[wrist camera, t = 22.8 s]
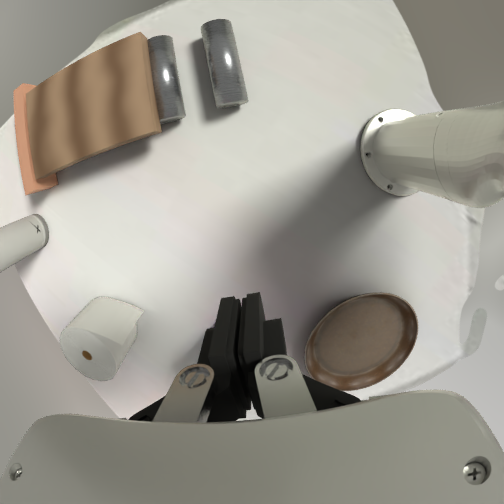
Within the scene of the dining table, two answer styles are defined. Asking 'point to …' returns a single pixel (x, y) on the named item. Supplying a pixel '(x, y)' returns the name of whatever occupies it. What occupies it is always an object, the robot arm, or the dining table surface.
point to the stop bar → (27, 145)
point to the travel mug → (22, 239)
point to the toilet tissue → (100, 337)
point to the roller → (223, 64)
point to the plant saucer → (361, 341)
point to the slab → (92, 106)
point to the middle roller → (165, 79)
